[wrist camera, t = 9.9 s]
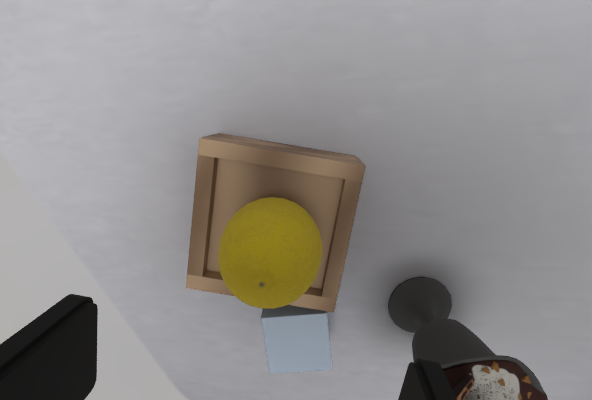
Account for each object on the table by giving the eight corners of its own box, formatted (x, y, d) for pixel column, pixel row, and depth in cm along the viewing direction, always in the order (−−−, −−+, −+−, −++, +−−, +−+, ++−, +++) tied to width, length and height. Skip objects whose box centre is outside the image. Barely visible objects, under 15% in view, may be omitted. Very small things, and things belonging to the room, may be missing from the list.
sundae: (466, 333, 28) (631, 569, 14) (383, 346, 29) (458, 584, 14) (459, 260, 27) (637, 438, 12) (372, 274, 27) (442, 461, 13)
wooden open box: (355, 156, 25) (365, 165, 21) (330, 280, 28) (333, 312, 23) (218, 133, 25) (199, 138, 21) (205, 259, 28) (186, 287, 23)
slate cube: (324, 281, 28) (326, 313, 23) (328, 330, 29) (332, 369, 24) (268, 286, 28) (260, 318, 24) (275, 334, 29) (269, 373, 25)
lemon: (254, 274, 24) (226, 352, 16) (224, 200, 23) (178, 246, 15) (331, 250, 23) (341, 321, 15) (304, 172, 22) (300, 206, 14)
